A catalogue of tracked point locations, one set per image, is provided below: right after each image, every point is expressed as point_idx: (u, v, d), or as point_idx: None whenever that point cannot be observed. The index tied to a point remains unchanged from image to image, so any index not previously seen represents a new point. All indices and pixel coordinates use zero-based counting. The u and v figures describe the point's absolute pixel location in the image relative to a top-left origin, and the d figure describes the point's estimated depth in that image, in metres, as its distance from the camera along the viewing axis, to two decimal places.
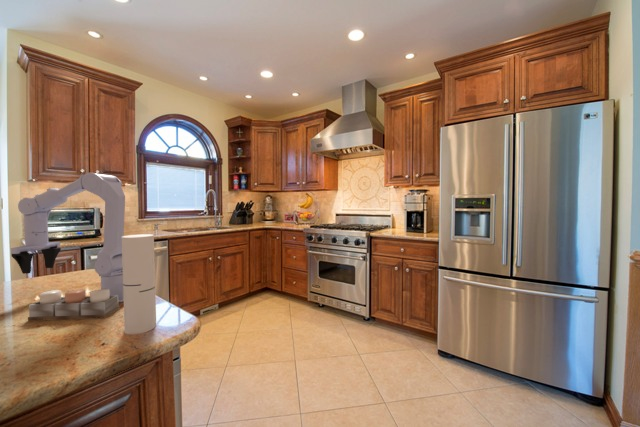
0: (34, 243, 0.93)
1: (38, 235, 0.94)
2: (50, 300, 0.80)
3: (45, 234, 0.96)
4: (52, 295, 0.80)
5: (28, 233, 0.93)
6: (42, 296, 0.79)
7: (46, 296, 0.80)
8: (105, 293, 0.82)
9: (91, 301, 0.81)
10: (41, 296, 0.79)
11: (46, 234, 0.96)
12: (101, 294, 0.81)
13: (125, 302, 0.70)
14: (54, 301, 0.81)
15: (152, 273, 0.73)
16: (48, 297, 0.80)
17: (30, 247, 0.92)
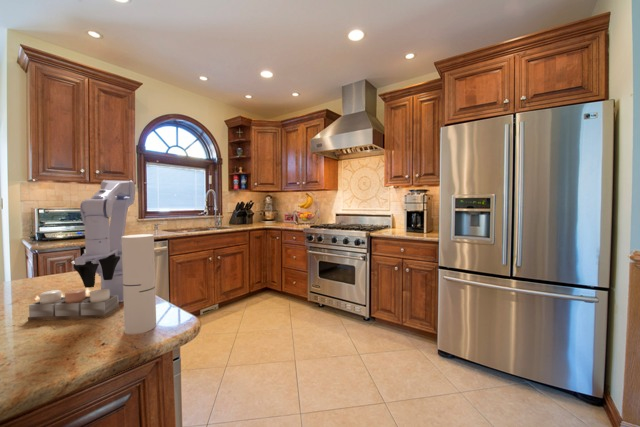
0: (98, 252, 0.80)
1: (102, 242, 0.81)
2: (50, 300, 0.80)
3: (108, 241, 0.82)
4: (52, 295, 0.80)
5: (91, 240, 0.79)
6: (42, 296, 0.79)
7: (46, 296, 0.80)
8: (105, 293, 0.82)
9: (91, 301, 0.81)
10: (41, 296, 0.79)
11: (109, 241, 0.83)
12: (101, 294, 0.81)
13: (125, 302, 0.70)
14: (54, 301, 0.81)
15: (152, 273, 0.73)
16: (48, 297, 0.80)
17: (95, 256, 0.78)
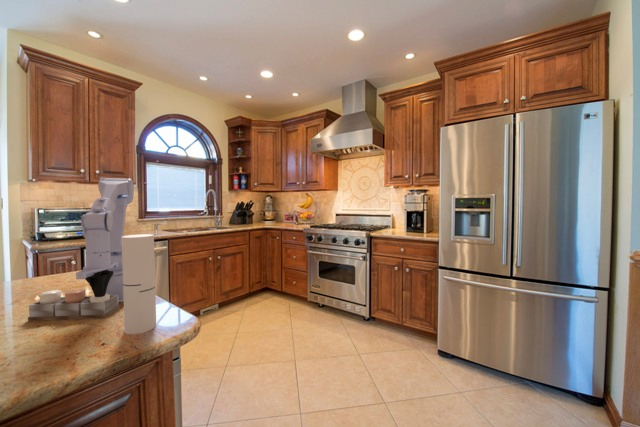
0: (98, 265, 0.80)
1: (103, 256, 0.81)
2: (50, 300, 0.80)
3: (109, 254, 0.83)
4: (52, 295, 0.80)
5: (92, 254, 0.79)
6: (42, 296, 0.79)
7: (46, 296, 0.80)
8: (105, 298, 0.82)
9: None
10: (41, 296, 0.79)
11: (109, 254, 0.83)
12: (101, 299, 0.81)
13: (125, 302, 0.70)
14: (54, 301, 0.81)
15: (152, 273, 0.73)
16: (48, 297, 0.80)
17: (95, 270, 0.79)
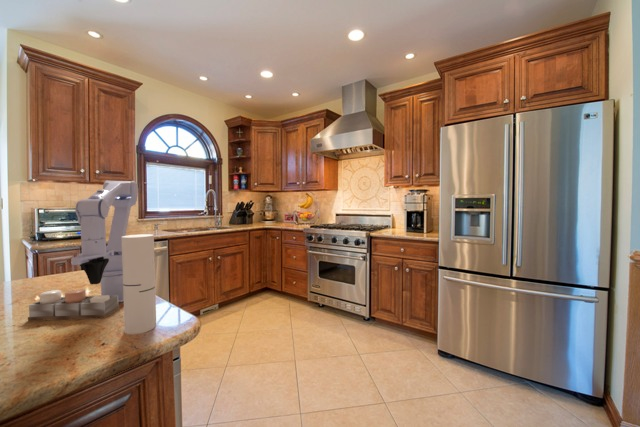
0: (94, 252, 0.80)
1: (98, 242, 0.81)
2: (50, 300, 0.80)
3: (104, 241, 0.82)
4: (52, 295, 0.80)
5: (87, 240, 0.79)
6: (42, 296, 0.79)
7: (46, 296, 0.80)
8: (105, 299, 0.82)
9: None
10: (41, 296, 0.79)
11: (105, 241, 0.83)
12: (101, 300, 0.81)
13: (125, 302, 0.70)
14: (54, 301, 0.81)
15: (152, 273, 0.73)
16: (48, 297, 0.80)
17: (91, 257, 0.78)
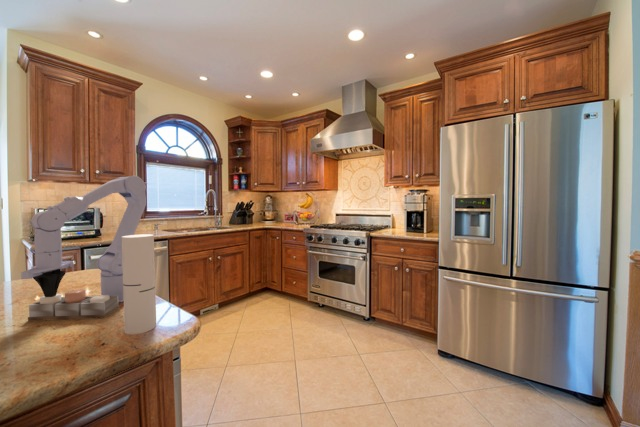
0: (47, 265, 0.79)
1: (52, 255, 0.80)
2: None
3: (59, 253, 0.82)
4: (52, 299, 0.80)
5: (40, 253, 0.78)
6: (42, 300, 0.79)
7: (46, 300, 0.80)
8: (105, 299, 0.82)
9: None
10: (41, 300, 0.79)
11: (60, 253, 0.82)
12: (101, 300, 0.81)
13: (125, 302, 0.70)
14: None
15: (152, 273, 0.73)
16: (48, 301, 0.80)
17: (43, 270, 0.78)
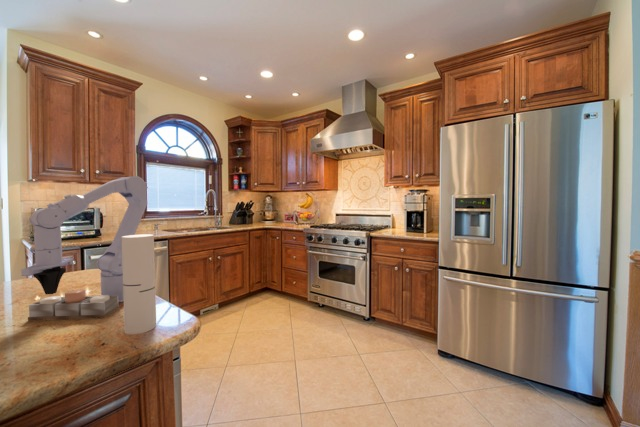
0: (47, 262, 0.79)
1: (52, 252, 0.80)
2: None
3: (59, 251, 0.82)
4: (52, 301, 0.80)
5: (40, 250, 0.78)
6: (42, 303, 0.79)
7: (46, 302, 0.80)
8: (105, 299, 0.82)
9: None
10: (41, 302, 0.79)
11: (60, 250, 0.82)
12: (101, 300, 0.81)
13: (125, 302, 0.70)
14: None
15: (152, 273, 0.73)
16: None
17: (44, 267, 0.78)
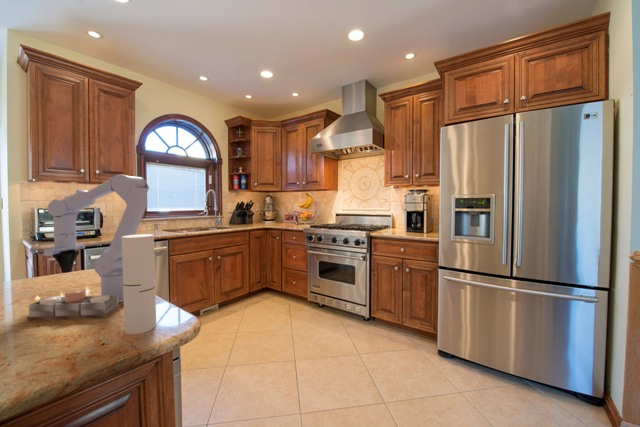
0: (64, 245, 0.94)
1: (68, 237, 0.94)
2: None
3: (74, 236, 0.96)
4: (52, 301, 0.80)
5: (58, 235, 0.93)
6: (42, 303, 0.79)
7: (46, 302, 0.80)
8: (105, 299, 0.82)
9: None
10: (41, 302, 0.79)
11: (75, 236, 0.97)
12: (101, 300, 0.81)
13: (125, 302, 0.70)
14: None
15: (152, 273, 0.73)
16: None
17: (61, 249, 0.92)
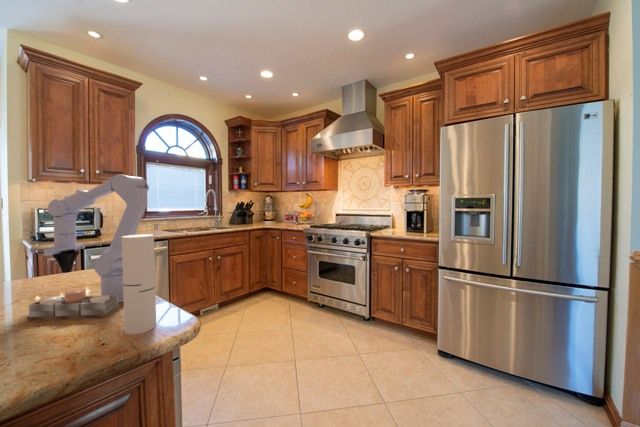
0: (64, 245, 0.94)
1: (68, 237, 0.94)
2: None
3: (74, 236, 0.96)
4: (52, 301, 0.80)
5: (58, 235, 0.93)
6: (42, 303, 0.79)
7: (46, 302, 0.80)
8: (105, 299, 0.82)
9: None
10: (41, 302, 0.79)
11: (75, 236, 0.97)
12: (101, 300, 0.81)
13: (125, 302, 0.70)
14: None
15: (152, 273, 0.73)
16: None
17: (61, 249, 0.92)
